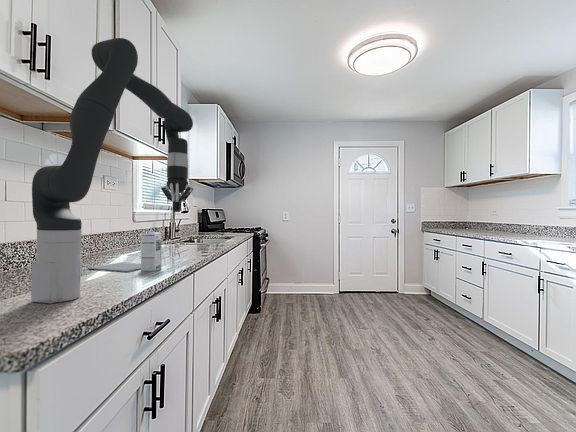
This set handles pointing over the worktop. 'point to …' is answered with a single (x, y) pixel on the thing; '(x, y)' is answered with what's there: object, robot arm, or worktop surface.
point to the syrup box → (150, 251)
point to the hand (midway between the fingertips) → (176, 211)
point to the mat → (119, 267)
